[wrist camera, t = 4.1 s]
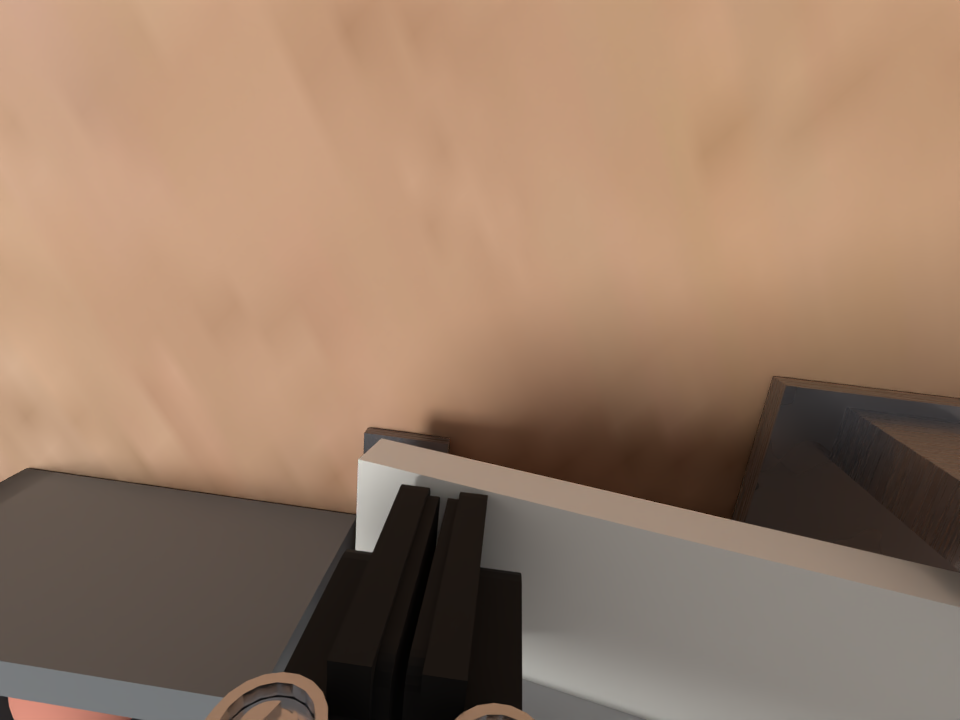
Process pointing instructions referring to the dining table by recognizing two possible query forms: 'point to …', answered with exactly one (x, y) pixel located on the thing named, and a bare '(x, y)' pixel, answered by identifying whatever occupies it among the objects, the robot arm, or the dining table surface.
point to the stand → (843, 469)
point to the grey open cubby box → (152, 592)
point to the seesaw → (690, 604)
